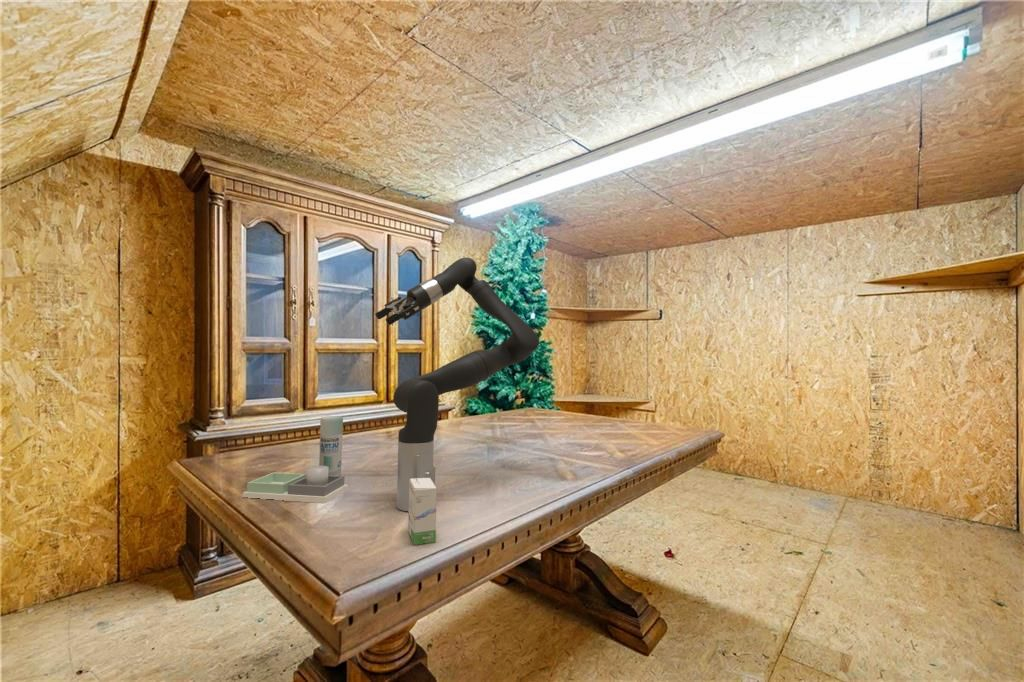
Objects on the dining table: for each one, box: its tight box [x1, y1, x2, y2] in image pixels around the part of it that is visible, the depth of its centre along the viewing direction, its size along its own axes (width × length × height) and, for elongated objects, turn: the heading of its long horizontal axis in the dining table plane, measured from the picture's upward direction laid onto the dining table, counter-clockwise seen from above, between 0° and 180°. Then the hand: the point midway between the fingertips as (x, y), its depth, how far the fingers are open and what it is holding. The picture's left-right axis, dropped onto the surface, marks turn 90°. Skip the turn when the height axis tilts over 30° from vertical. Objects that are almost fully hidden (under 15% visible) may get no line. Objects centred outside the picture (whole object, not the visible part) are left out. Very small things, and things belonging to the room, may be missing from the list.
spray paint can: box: [318, 415, 344, 476], centre depth 134 cm, size 6×6×20 cm
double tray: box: [242, 464, 349, 504], centre depth 122 cm, size 24×12×8 cm, turn 83°
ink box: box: [407, 478, 438, 546], centre depth 95 cm, size 8×5×12 cm, turn 21°
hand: (381, 319), depth 132 cm, fingers open, 8 cm apart
